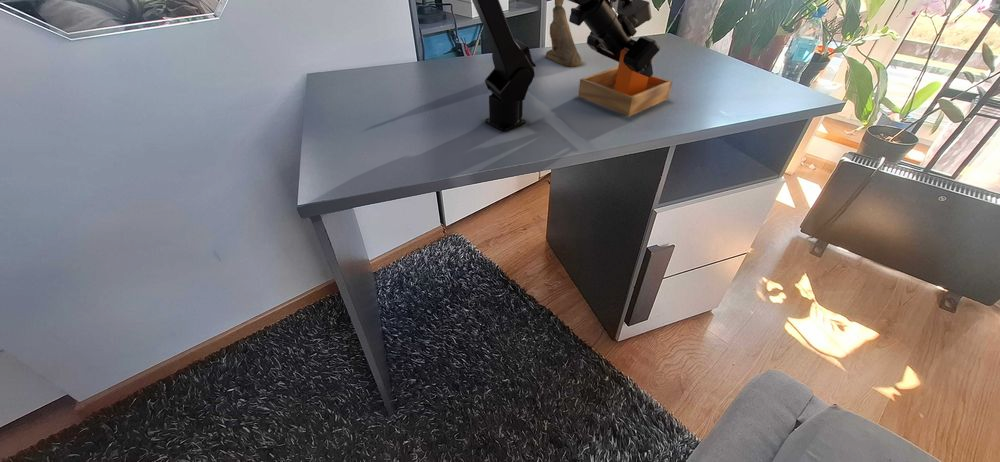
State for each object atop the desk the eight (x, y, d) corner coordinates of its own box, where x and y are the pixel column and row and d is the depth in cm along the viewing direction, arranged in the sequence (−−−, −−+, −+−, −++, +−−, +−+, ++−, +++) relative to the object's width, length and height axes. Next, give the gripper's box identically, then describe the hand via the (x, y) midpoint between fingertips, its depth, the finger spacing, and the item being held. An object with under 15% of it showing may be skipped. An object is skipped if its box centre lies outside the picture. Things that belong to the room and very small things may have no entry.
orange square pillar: (625, 102, 94) (635, 51, 87) (613, 94, 98) (621, 45, 91) (644, 98, 96) (654, 48, 89) (631, 91, 99) (640, 42, 92)
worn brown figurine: (544, 65, 124) (540, -3, 115) (559, 62, 126) (556, -6, 117) (568, 68, 115) (565, -6, 106) (584, 64, 116) (582, -9, 108)
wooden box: (627, 119, 89) (632, 98, 86) (577, 99, 98) (580, 78, 95) (667, 102, 96) (672, 81, 93) (617, 84, 105) (620, 65, 102)
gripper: (663, -6, 74) (694, 50, 84) (605, -22, 88) (639, 28, 98) (618, 46, 77) (654, 94, 87) (569, 23, 91) (605, 67, 101)
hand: (638, 69), depth 93 cm, fingers open, 9 cm apart
